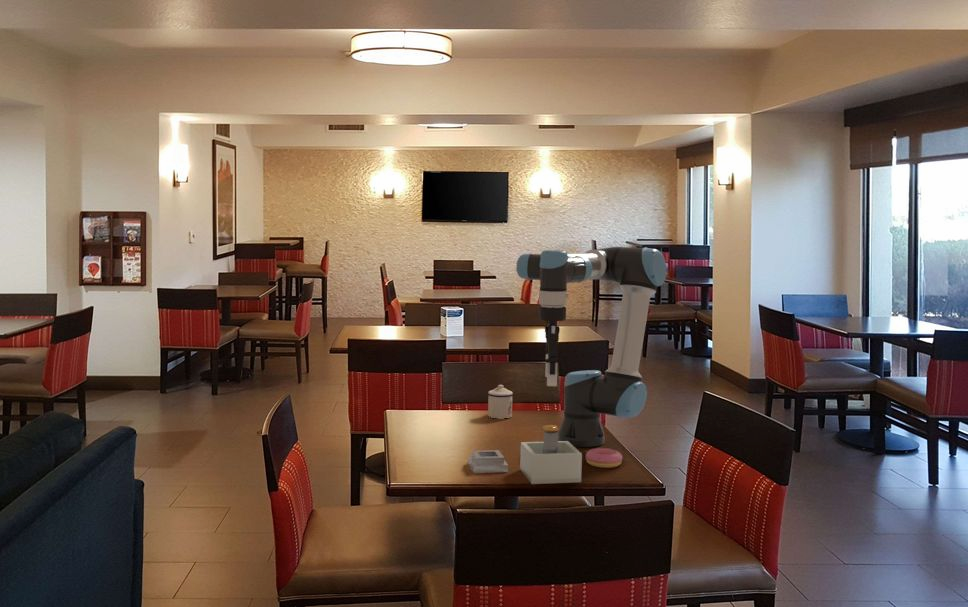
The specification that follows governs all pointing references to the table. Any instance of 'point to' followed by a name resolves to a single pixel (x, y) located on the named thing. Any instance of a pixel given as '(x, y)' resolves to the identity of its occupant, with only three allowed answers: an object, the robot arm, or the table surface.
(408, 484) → the table surface
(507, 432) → the table surface
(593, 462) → the doughnut
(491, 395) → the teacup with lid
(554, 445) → the gold topped grey cylinder
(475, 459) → the grey square socket base
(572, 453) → the bin
